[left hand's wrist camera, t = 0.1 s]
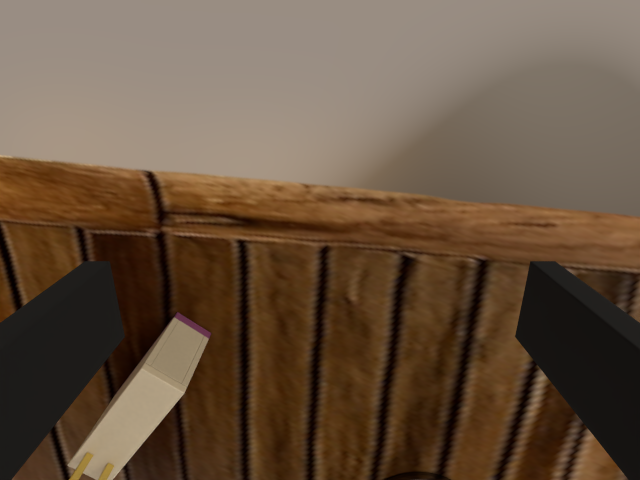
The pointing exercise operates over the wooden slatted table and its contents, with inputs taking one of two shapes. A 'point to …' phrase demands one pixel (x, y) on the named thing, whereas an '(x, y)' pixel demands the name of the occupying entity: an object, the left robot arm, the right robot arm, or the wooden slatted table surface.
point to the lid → (127, 424)
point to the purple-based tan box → (171, 354)
